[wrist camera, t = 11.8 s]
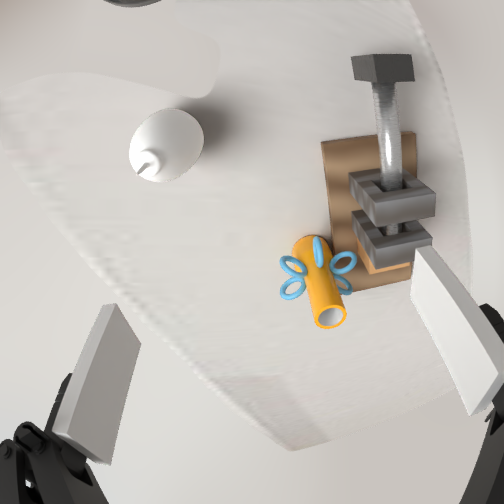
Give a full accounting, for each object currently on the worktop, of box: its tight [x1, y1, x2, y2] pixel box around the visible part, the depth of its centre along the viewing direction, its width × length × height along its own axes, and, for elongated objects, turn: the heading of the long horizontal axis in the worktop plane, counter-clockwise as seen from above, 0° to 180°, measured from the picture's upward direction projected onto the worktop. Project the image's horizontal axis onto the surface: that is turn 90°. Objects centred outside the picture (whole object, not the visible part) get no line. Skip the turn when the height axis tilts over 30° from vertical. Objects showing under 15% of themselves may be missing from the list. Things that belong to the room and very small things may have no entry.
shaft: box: [351, 54, 415, 235], centre depth 33 cm, size 22×4×7 cm, turn 12°
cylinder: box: [280, 235, 357, 329], centre depth 43 cm, size 12×10×15 cm
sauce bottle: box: [129, 109, 204, 182], centre depth 31 cm, size 8×8×18 cm
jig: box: [321, 132, 436, 295], centre depth 41 cm, size 26×14×12 cm, turn 12°
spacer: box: [357, 238, 410, 274], centre depth 44 cm, size 4×6×6 cm, turn 102°
